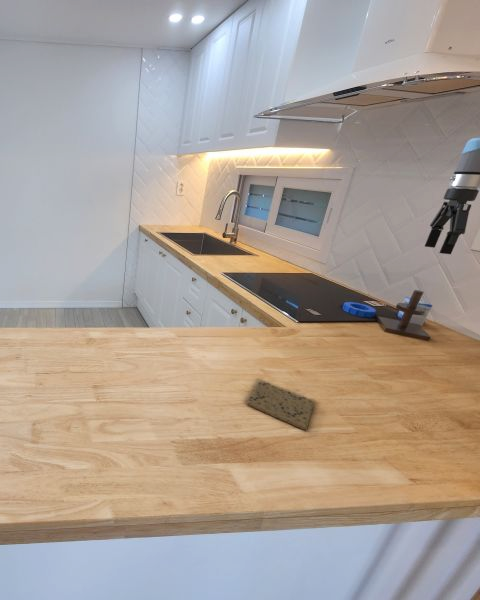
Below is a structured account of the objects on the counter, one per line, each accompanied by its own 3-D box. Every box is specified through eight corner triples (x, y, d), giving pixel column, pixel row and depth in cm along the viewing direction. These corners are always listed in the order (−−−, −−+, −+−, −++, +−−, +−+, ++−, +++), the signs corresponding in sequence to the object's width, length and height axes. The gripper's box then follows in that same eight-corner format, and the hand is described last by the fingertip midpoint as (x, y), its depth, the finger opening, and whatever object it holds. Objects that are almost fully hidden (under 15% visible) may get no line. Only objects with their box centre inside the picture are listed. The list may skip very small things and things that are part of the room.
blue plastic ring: (370, 311, 137) (372, 305, 136) (376, 319, 129) (378, 314, 128) (340, 305, 141) (342, 300, 141) (344, 313, 133) (346, 307, 132)
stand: (416, 328, 124) (435, 290, 118) (428, 341, 114) (449, 300, 108) (376, 319, 129) (392, 282, 123) (384, 331, 119) (401, 292, 113)
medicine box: (396, 315, 134) (405, 295, 131) (409, 317, 133) (419, 297, 130) (408, 324, 127) (418, 303, 123) (422, 326, 126) (433, 304, 122)
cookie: (245, 404, 77) (246, 401, 76) (259, 381, 85) (260, 378, 85) (306, 431, 70) (307, 427, 69) (314, 403, 78) (315, 400, 78)
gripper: (433, 186, 125) (411, 243, 133) (466, 188, 105) (437, 255, 112) (461, 188, 122) (436, 245, 130) (500, 190, 101) (467, 258, 109)
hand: (436, 250), depth 121 cm, fingers open, 13 cm apart
